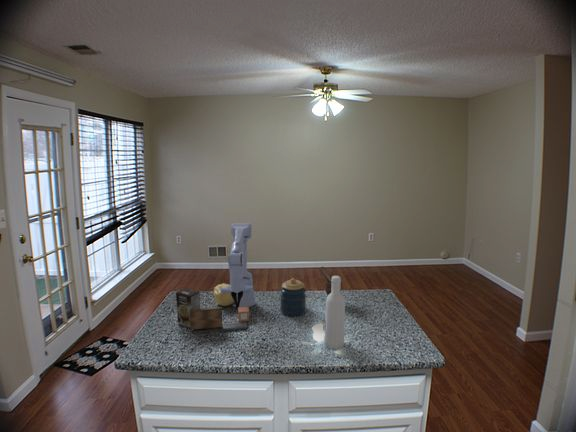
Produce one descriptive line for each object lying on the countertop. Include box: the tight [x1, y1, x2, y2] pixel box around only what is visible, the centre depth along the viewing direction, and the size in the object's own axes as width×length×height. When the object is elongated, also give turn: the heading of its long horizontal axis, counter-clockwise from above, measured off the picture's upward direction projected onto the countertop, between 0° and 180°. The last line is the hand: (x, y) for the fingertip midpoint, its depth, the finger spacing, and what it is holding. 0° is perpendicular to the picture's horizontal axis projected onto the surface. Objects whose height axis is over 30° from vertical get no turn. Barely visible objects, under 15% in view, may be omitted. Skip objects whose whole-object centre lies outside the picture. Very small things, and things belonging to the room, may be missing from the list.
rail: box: [192, 321, 248, 335], centre depth 154 cm, size 24×4×1 cm, turn 100°
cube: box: [237, 307, 250, 323], centre depth 163 cm, size 5×5×5 cm
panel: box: [190, 306, 223, 331], centre depth 152 cm, size 14×2×9 cm, turn 100°
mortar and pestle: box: [319, 266, 343, 296], centre depth 178 cm, size 12×9×20 cm
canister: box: [279, 277, 307, 318], centre depth 170 cm, size 13×13×18 cm
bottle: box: [324, 275, 346, 350], centre depth 139 cm, size 8×8×30 cm
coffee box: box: [175, 287, 201, 329], centre depth 158 cm, size 9×6×16 cm
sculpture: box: [213, 282, 235, 307], centre depth 179 cm, size 11×12×11 cm
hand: (237, 306), depth 154 cm, fingers closed
